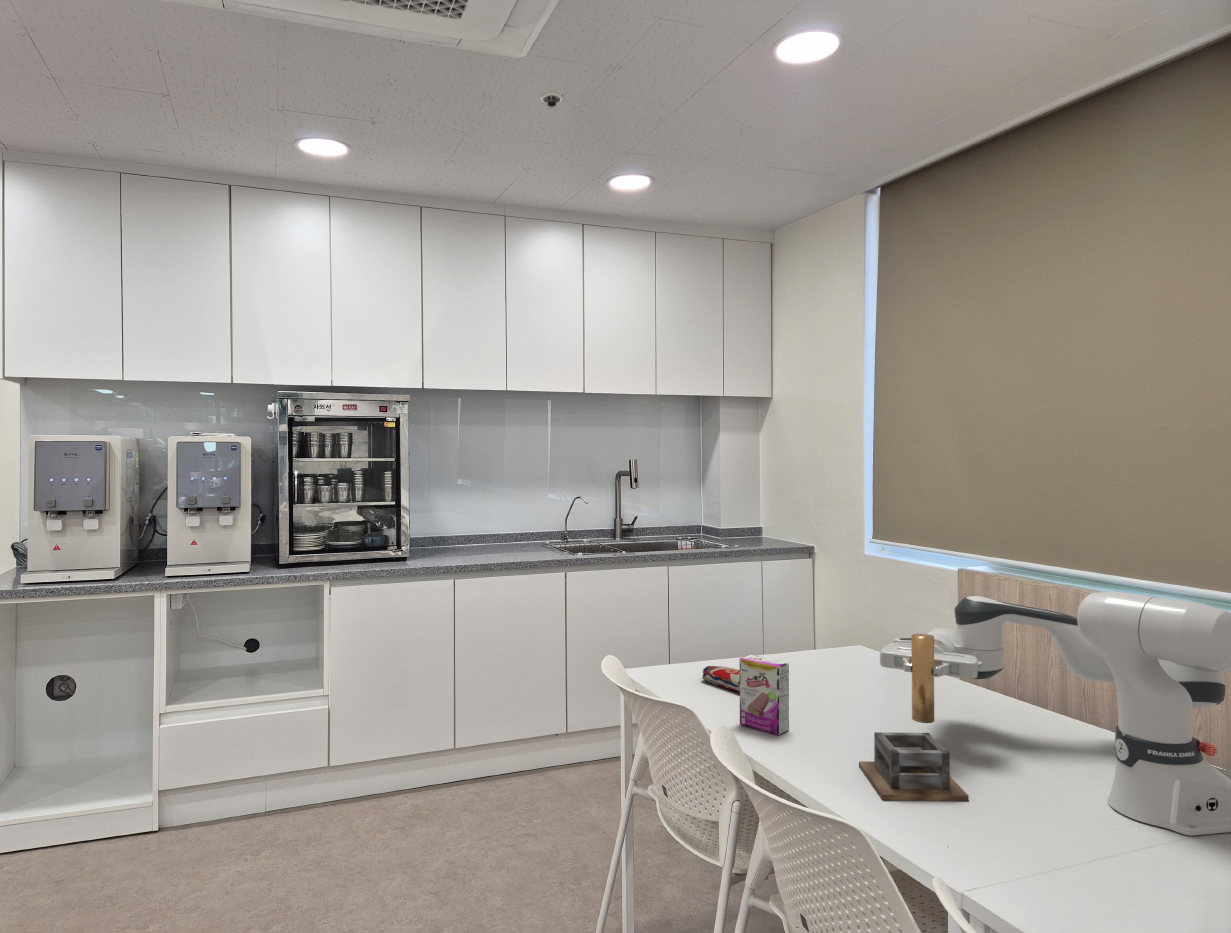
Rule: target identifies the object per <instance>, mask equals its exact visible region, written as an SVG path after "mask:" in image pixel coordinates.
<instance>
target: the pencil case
mask: <svg viewBox="0 0 1231 933" xmlns="http://www.w3.org/2000/svg"><path fill="white" fill-rule="evenodd" d="M701 679H702V680H704V681H705V682H708V683H710V684H713V685H716V686H720V687H723V688H727V689H730V690H733V691H736V692H738V693H740V669H737V668H733V667H730V666H729V667H728V666H721V665H720V666H719V665H708V666H706V667H704V668H703V670H702V677H701Z"/></svg>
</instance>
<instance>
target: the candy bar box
mask: <svg viewBox="0 0 1231 933" xmlns="http://www.w3.org/2000/svg"><path fill="white" fill-rule="evenodd" d="M789 664H790V662H786V661H782V660H777V659H772V658H767V657H763V656H758V655H754V654H748V655H745V656H741V657H740V658H739V670H740V692H739V725H741V726H744V727H748V728H752V729H755V730H759V731H763V732H765V733H769V734H772V735H776V736H780V735H783V734H785V733H786V732H788V731H790V698H789V697H790V693H789V692H790V685H789V684H790V681H789V680H790V669H789V668H790V665H789Z"/></svg>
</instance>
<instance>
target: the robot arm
mask: <svg viewBox="0 0 1231 933" xmlns="http://www.w3.org/2000/svg"><path fill="white" fill-rule="evenodd" d="M954 618H955V624H956V630H954V629H952V628H950V627H936V628H933V629H931V630H930V631H928V632H927V633H926V634H928V635H932V636H934V667H933V671H934V672H933V675H934V678H939V677H943V676H946V677H947V676H948V677H953V678H955V677H957V678H963V679H970V680H971V679H972V680H986V679H990V678H992V677H994V676H996V675H998V674H999V673H1001V672H1002V670H1004V668H1005V666H1004V664H1005V663H1004V662H1005V661H1004V660H1005V659H1004V657H1005V655H1004V654H1005V650H1004V642H1003V641H1004V640H1003V638H1004V636H1003V630H1004V629H1003V625H1004V624H1005V623H1006V622H1009V623H1015V624H1021V625H1026V626H1031V627H1038V628H1041V629H1043V630H1046V631H1047V632H1048V633H1049V634H1050V636H1051V637H1052V640H1053V641H1054V643H1055V646H1056V648H1057V650H1058V653H1059V654H1060V657H1061V659H1062V660H1063V662H1064V663H1065V665H1066V666H1067V667H1068V669H1069V670H1070V671H1071V672H1072V673H1073V674H1075V675H1076V676H1078V677H1079V678H1081V679H1083V680H1085V681H1086V680H1087V681H1091V682H1092V681H1093V682H1100V683H1114V684H1115V688H1116V698H1117V716H1118V717H1117V718H1118V720H1117V721H1118V722H1117V723H1118V724H1117V725H1116V727H1115V736H1114V737H1115V738H1114V743H1115V744H1114V746H1115V747H1114V748H1115V757H1116V763H1115V764H1116V765H1115V770H1114V771H1115V772H1114V778H1113V782H1112V786H1111V790H1110V793H1109V796H1108V797H1107V803H1108V804H1109V806H1110V807H1111V808H1112V809H1113V810H1115V811H1117V812H1118V813H1120V814H1121V815H1123V816H1126V817H1128V818H1130V819H1132V820H1135V821H1139V822H1141V823H1144V824H1149V825H1150V826H1151V825H1152V826H1156V827H1159V828H1165V829H1168V830H1171V831H1174V832H1176V833H1179V834H1182V835H1185V836H1192V837H1193V836H1200V835H1201V836H1202V835H1203V836H1204V835H1212V834H1221V833H1222V834H1225V833H1231V779H1230V778H1228V776H1226V775H1225V774H1224V773H1222V772H1221V771H1219V770H1218V768H1216V767H1214V766H1213V765H1211V764H1210V762H1208V761H1206V760H1205V759H1204V757H1203V754H1202V753H1204V754H1206V755H1207V756H1210V757H1215V756H1216V754H1217V753H1218V749H1217V747H1216V746H1215V745H1214V744H1212V743H1209V742H1208V741H1200V739H1198V738H1196V737H1195V736H1193V709H1194V710H1199V709H1200V710H1202V709H1208V708H1212V707H1214V706H1218V705H1220V704H1221V703H1223V702H1224V701H1225V697H1226V684H1224V673H1231V612H1230V611H1227V610H1223V609H1220V608H1217V607H1214V606H1211V605H1208V604H1204V603H1201V602H1197V601H1191V600H1185V599H1184V600H1182V599H1177V598H1176V599H1175V598H1169V597H1161V596H1153V595H1147V594H1139V593H1131V592H1126V591H1120V590H1119V591H1098V592H1097V591H1096V592H1090V593H1089V594H1088V595H1086V597H1084V598H1083V600H1082V601H1081V602H1080V604H1079V606H1078V608H1077V612H1076V617H1075V616H1073V615H1069V614H1067V613H1062V612H1058V611H1054V610H1048V609H1044V608H1043V609H1042V608H1037V607H1033V606H1027V605H1022V604H1021V605H1020V604H1014V603H1009V602H1006V601H1005V602H1003V601H1000V600H996V599H992V598H989V597H985V596H981V595H971V596H964V598H962V599H961V600H960V601H959V602H958V603H957V604H956V606H955V607H954ZM879 665H880V667H883V668H887V669H896V670H902V671H904V672H905V673H912V637H906V638H905V637H897V638H894V640H893V642H892V643H888V644H887V645H885V646H884V647H882V648H881V649H880V652H879Z"/></svg>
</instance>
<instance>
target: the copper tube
mask: <svg viewBox="0 0 1231 933" xmlns="http://www.w3.org/2000/svg"><path fill="white" fill-rule="evenodd" d="M911 638H912V672H911V719H912V720H913V722H917V723H919V724H920V723H921V724H932V723H934V722H935V677H934V675H933V672H934V671H933V667H934V636H932V635H928V634H927V633H913V634H911Z"/></svg>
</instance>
